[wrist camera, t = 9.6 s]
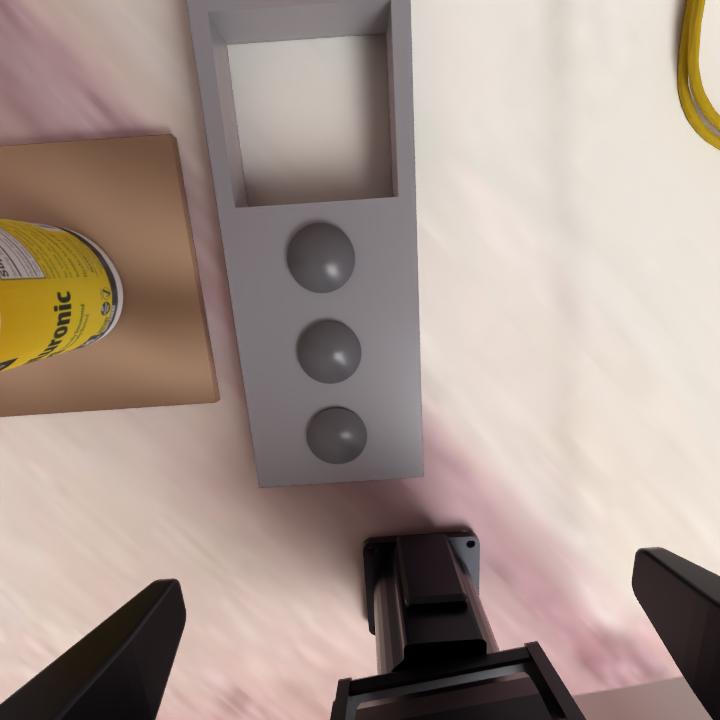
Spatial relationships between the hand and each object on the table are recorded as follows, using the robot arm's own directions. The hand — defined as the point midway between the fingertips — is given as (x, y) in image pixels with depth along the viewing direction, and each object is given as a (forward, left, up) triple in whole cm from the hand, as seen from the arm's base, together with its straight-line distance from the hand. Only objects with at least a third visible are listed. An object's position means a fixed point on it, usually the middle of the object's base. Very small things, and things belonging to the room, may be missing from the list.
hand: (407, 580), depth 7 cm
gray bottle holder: (+7, +2, -12) cm, 14 cm away
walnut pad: (+6, +14, -12) cm, 19 cm away
